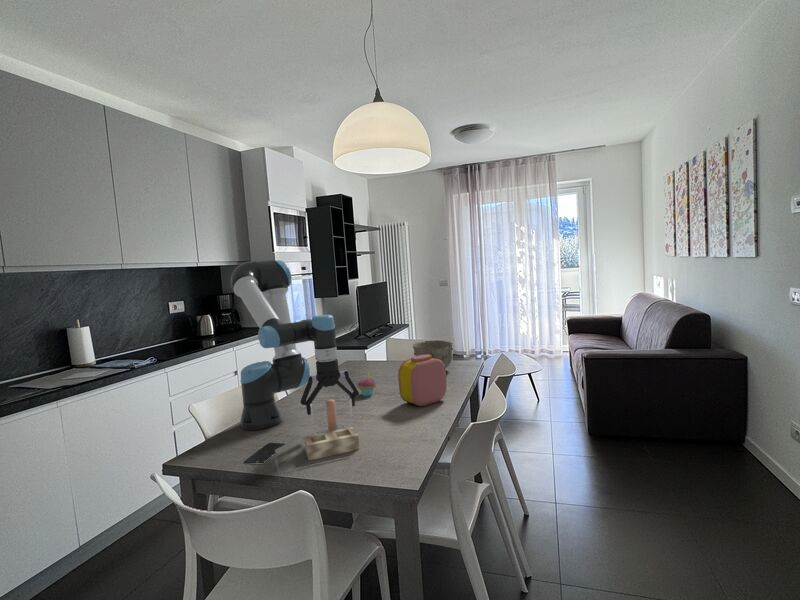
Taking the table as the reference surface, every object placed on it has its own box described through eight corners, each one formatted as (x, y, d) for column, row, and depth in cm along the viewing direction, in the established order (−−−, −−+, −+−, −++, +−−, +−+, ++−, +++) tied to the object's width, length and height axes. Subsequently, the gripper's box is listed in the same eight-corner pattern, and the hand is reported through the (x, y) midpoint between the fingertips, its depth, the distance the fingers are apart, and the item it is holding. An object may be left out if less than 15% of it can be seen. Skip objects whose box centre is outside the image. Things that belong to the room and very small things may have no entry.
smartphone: (288, 443, 147) (262, 463, 132) (288, 445, 147) (262, 466, 132) (268, 441, 149) (241, 461, 134) (269, 444, 149) (241, 464, 134)
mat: (321, 443, 146) (321, 442, 146) (316, 433, 155) (316, 432, 155) (350, 437, 149) (350, 436, 149) (343, 427, 158) (343, 426, 158)
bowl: (434, 364, 246) (433, 338, 245) (463, 369, 230) (461, 342, 228) (405, 372, 233) (403, 345, 231) (433, 379, 216) (431, 349, 215)
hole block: (308, 461, 132) (307, 445, 132) (305, 451, 140) (303, 436, 139) (359, 450, 138) (358, 435, 137) (353, 441, 145) (352, 426, 145)
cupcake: (377, 391, 201) (376, 366, 200) (375, 397, 193) (373, 370, 192) (359, 392, 202) (357, 366, 201) (356, 397, 194) (354, 371, 193)
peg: (329, 436, 150) (326, 402, 149) (328, 433, 153) (325, 400, 152) (338, 434, 151) (335, 401, 150) (336, 431, 154) (333, 398, 153)
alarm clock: (432, 394, 191) (429, 351, 190) (449, 399, 182) (446, 354, 181) (398, 404, 180) (395, 358, 179) (415, 410, 171) (411, 362, 170)
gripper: (291, 367, 142) (297, 429, 144) (364, 356, 151) (369, 415, 152) (288, 363, 149) (294, 423, 151) (358, 352, 158) (363, 409, 159)
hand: (332, 419), depth 151 cm, fingers open, 13 cm apart
